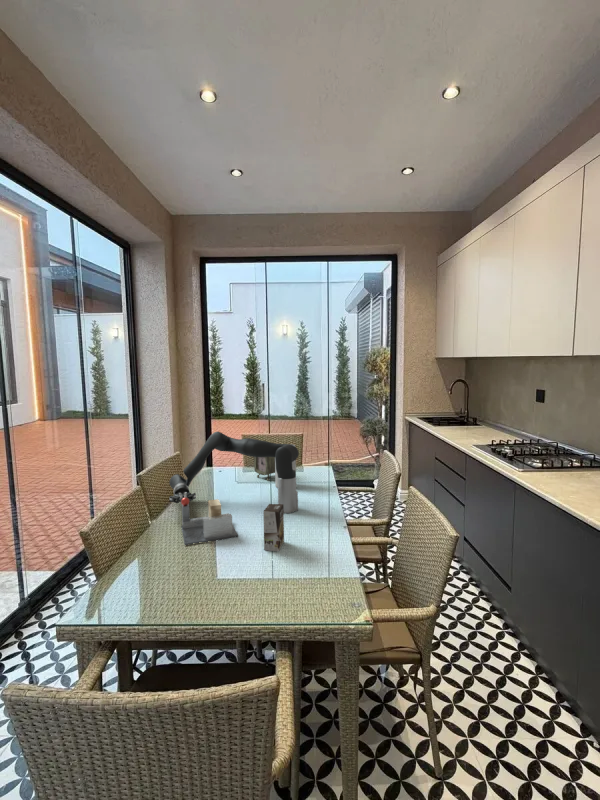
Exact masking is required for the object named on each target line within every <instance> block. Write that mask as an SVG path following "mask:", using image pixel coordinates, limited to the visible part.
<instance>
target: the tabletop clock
mask: <svg viewBox="0 0 600 800" xmlns="http://www.w3.org/2000/svg"><path fill="white" fill-rule="evenodd" d="M265 441H266V442H268V441H267V440H265ZM253 468H254V472H255V473H256V474H258V475H256V478H260V475H261V476H266V477H267V478H266V481H268V482H269V481H270V478H271V476H270V475H271V474H275V457H253Z"/></svg>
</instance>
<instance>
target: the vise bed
mask: <svg viewBox="0 0 600 800" xmlns="http://www.w3.org/2000/svg"><path fill="white" fill-rule="evenodd" d="M225 514H226V515H219V516H212V517H206V516H204V517H205V518H203V526H199V527H192V528H185V529H183V525H180V528H182V529H181V534H182V533H183V534H182V539H183V543H184V546H185V545H188V544H193V543H199V542H206V543H209V542H208V541H212V542H215V541H216V540H218V541H222V539H223V540H228V539H234V538H238V537H239V533H238V532H237V531H236V528H235V527H234V524H233V516H232V513H229V514H227V513H225ZM188 546H189V545H188Z"/></svg>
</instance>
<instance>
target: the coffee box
mask: <svg viewBox="0 0 600 800" xmlns="http://www.w3.org/2000/svg"><path fill="white" fill-rule="evenodd" d="M284 514H285V513H284V506H283V504H278V503H268V505H267V506H266V507H265V508H264V510H263V550H264V551H271V552H279V551H280V550H281V548H282V546H283V544H284V543H285V523H284V522H285V520H284V519H285V518H284V516H285V515H284Z"/></svg>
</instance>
